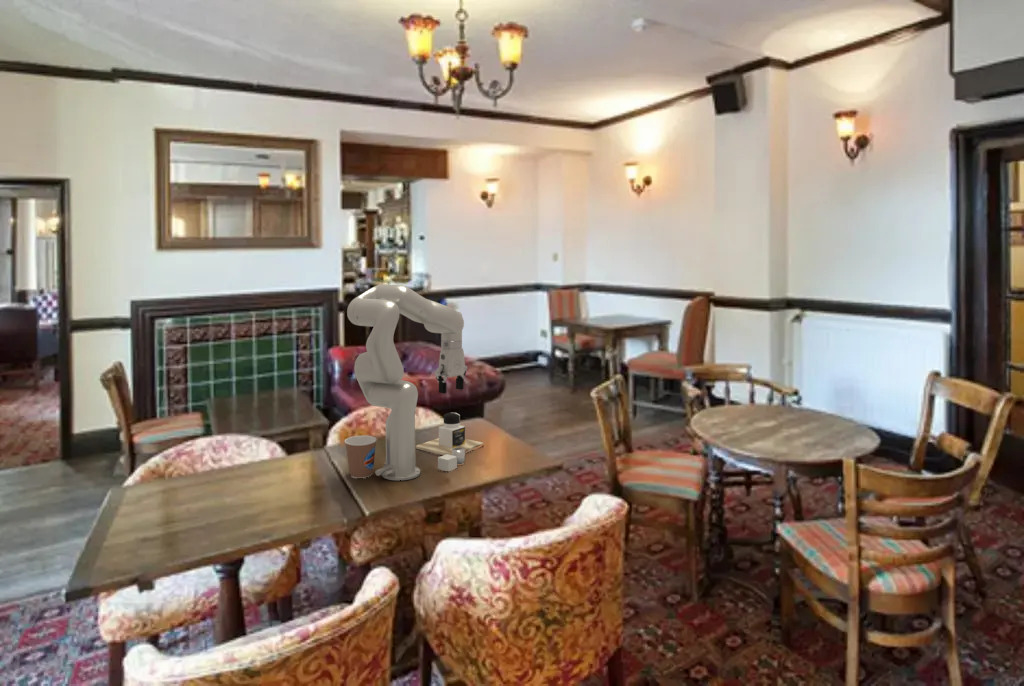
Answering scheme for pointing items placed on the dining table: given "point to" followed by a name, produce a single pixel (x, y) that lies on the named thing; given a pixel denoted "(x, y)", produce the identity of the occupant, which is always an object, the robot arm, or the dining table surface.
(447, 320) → the robot arm
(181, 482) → the dining table surface
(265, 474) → the dining table surface
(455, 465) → the white cube
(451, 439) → the medicine bottle
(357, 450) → the coffee cup
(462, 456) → the metal canister
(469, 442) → the birch board
